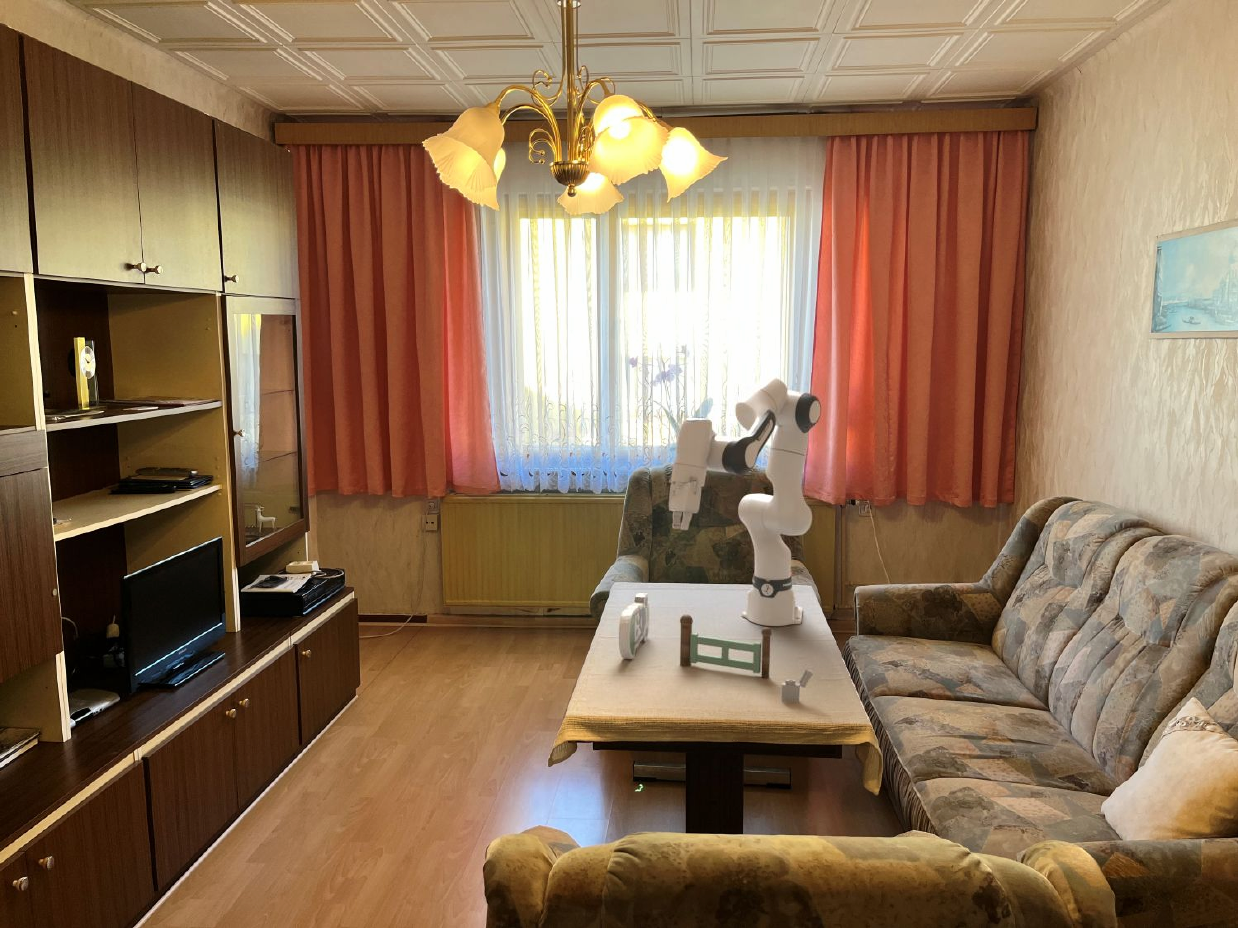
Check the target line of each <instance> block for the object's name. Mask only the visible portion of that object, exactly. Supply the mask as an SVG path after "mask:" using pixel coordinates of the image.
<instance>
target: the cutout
mask: <svg viewBox="0 0 1238 928" xmlns="http://www.w3.org/2000/svg"><path fill="white" fill-rule="evenodd" d="M649 632H650V603H649V594H648V593H641V592H640V593H639V592H637V593H636V594H635V596H634V602H633V603H630V604H629V605H628V606H627V607H626V608H624V609H623V611H622V612H621V615H620V620H619V625H618V646H619V653H620V656H621V659H626V660H634V659H635V655H636V649H637V648H638V647H639V646H640V644H641V642H642V643H643V642H644V643H646V642H647V640H648V639H649ZM647 638H648V639H647ZM633 658H634V659H633Z"/></svg>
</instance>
